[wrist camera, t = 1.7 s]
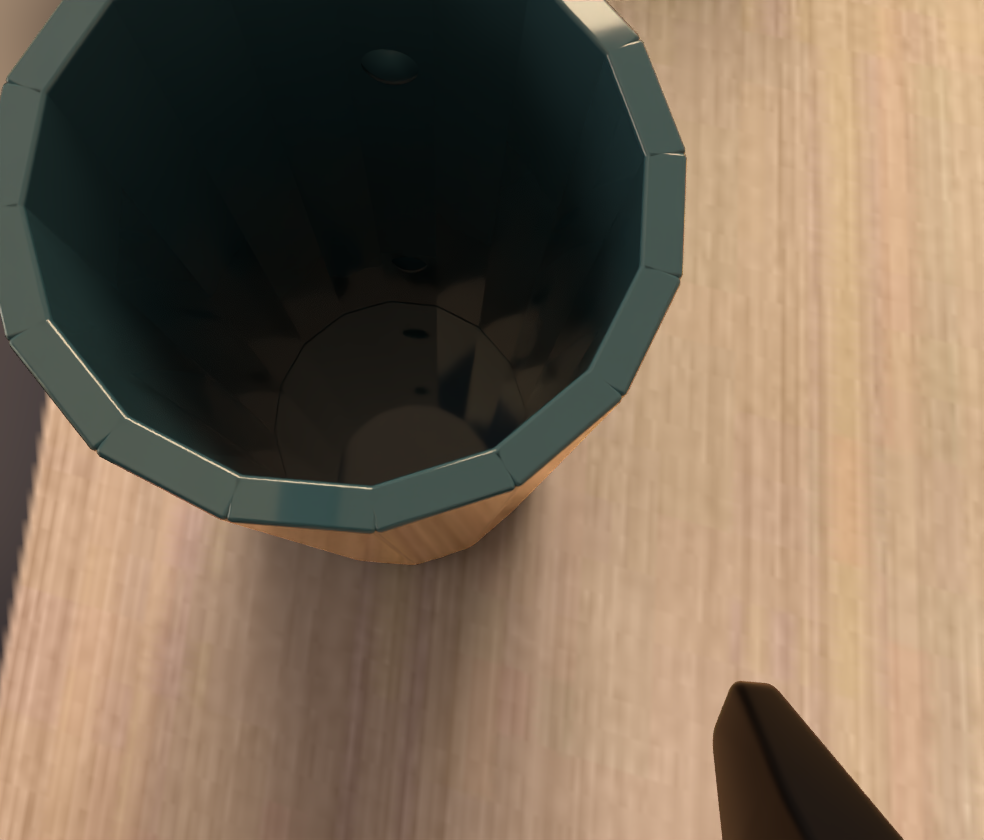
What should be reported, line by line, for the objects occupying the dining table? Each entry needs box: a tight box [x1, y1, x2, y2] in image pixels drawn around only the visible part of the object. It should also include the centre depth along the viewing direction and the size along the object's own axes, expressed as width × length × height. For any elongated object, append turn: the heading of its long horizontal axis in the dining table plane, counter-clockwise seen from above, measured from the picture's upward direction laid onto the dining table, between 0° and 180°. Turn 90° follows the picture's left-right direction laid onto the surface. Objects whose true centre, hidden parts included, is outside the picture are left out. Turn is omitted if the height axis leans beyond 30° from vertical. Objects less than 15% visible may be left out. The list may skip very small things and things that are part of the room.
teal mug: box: [0, 0, 687, 565], centre depth 15 cm, size 10×7×13 cm, turn 175°
